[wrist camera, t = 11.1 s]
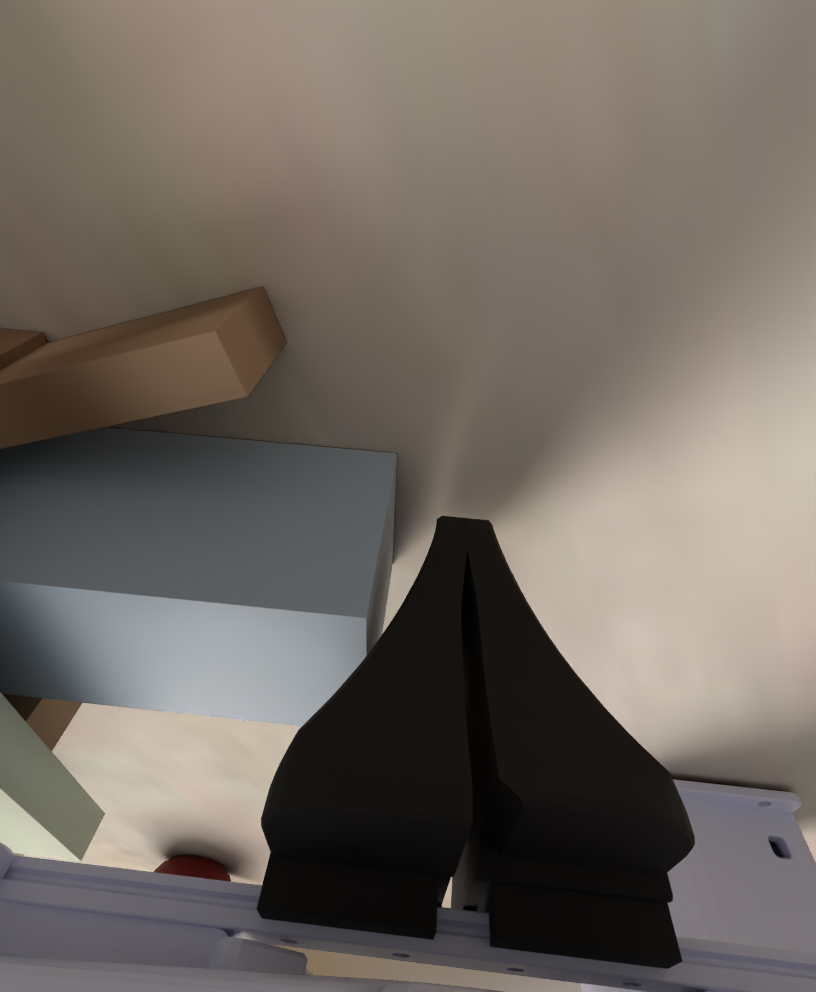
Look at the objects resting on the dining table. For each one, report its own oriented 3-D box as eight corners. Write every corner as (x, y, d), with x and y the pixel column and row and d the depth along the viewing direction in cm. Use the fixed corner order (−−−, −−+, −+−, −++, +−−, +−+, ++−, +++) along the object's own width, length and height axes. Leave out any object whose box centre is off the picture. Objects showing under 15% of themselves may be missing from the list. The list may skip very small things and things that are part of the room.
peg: (396, 453, 12) (366, 618, 8) (392, 566, 15) (366, 733, 11) (3, 418, 13) (-203, 560, 9) (63, 534, 15) (-75, 685, 11)
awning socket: (280, 287, 10) (62, 511, 5) (317, 634, 17) (250, 884, 12) (-217, 249, 10) (-970, 414, 5) (23, 604, 18) (-176, 832, 12)
